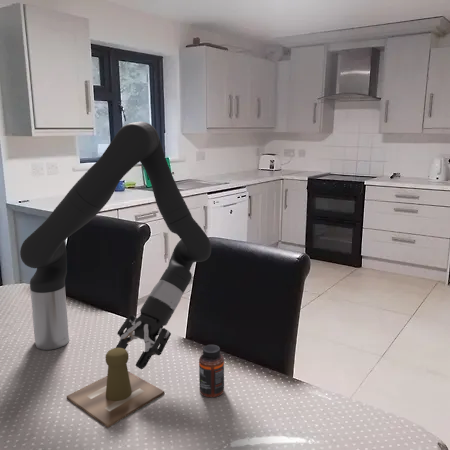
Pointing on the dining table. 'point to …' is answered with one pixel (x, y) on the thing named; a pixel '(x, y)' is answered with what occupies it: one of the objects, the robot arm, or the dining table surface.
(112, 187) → the robot arm
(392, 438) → the dining table surface
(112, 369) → the olive pawn figure
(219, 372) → the supplement bottle
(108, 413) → the board
